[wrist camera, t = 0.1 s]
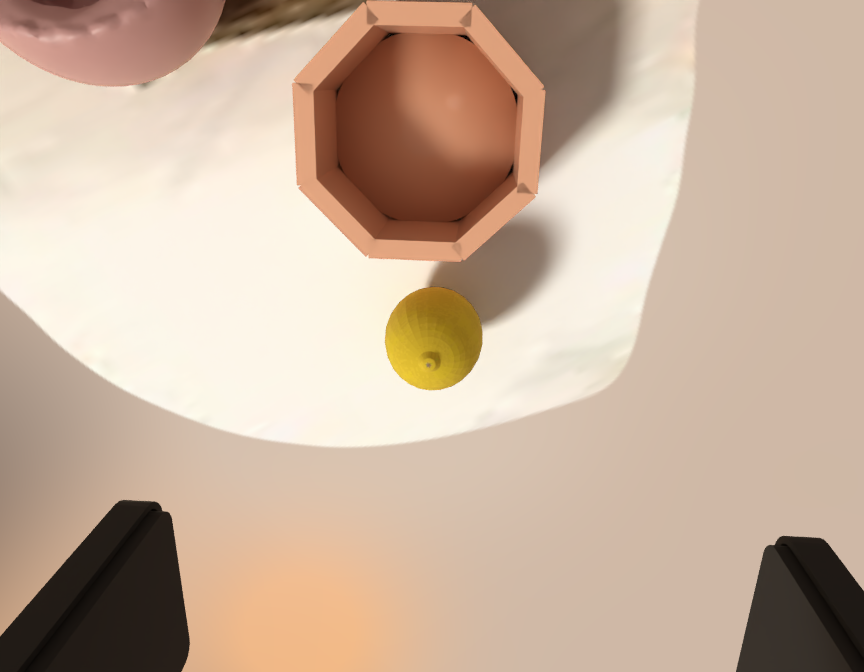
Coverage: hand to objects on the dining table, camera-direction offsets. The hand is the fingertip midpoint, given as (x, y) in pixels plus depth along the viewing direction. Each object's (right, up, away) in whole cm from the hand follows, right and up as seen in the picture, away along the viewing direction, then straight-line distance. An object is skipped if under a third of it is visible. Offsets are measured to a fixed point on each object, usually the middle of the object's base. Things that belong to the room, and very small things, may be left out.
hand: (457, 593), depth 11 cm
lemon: (0, +6, +32) cm, 32 cm away
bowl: (-1, +16, +27) cm, 32 cm away
